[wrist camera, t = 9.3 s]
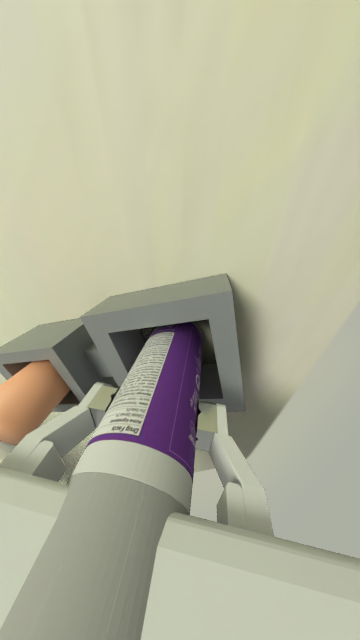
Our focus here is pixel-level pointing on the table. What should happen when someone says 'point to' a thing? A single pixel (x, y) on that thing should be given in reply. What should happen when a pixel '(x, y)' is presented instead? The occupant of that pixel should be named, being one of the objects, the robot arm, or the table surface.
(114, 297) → the housing
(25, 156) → the table surface
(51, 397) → the peach cylinder
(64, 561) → the container
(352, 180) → the table surface
